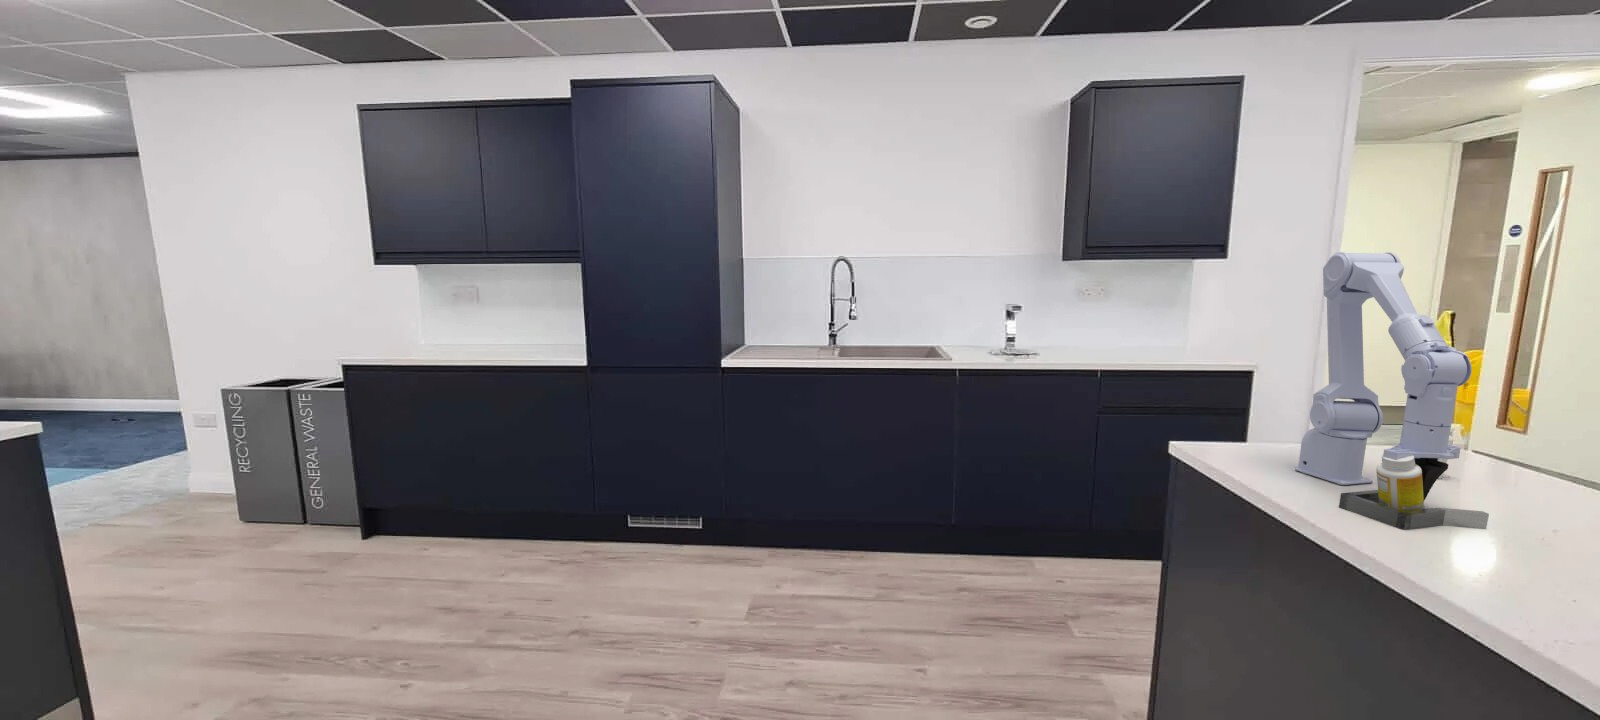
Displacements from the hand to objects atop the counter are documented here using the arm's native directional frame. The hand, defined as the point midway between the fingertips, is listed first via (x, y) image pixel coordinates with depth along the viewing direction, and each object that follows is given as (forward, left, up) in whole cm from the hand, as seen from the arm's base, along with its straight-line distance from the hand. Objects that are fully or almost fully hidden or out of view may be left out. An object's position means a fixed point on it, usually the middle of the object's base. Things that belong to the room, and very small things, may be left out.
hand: (1414, 500), depth 109 cm
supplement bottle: (0, -3, -2) cm, 3 cm away
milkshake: (-14, +26, -2) cm, 30 cm away
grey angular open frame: (0, -2, -2) cm, 3 cm away
